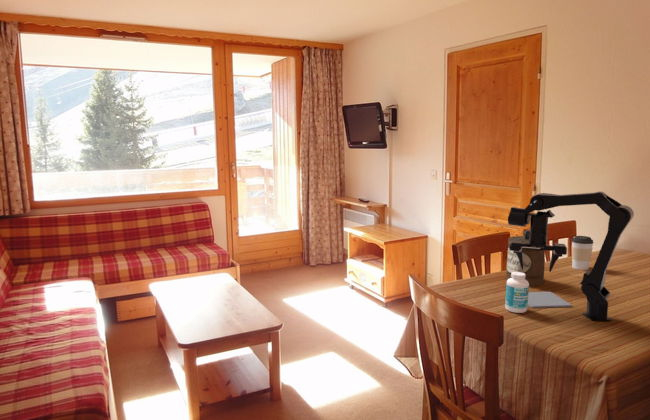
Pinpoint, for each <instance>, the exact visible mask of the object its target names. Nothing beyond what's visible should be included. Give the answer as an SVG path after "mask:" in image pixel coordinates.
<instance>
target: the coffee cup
mask: <svg viewBox="0 0 650 420" xmlns="http://www.w3.org/2000/svg"><path fill="white" fill-rule="evenodd" d="M593 244H594V240H593V239H592V237H590V236H585V235H575V236H574V237H573V238H571V259H572V260H571V261H572V262H571V264H572V265H571V268H572V269H576V270H582V271H583V270H585V271H587V270H590V269H589V268H590V262H591V258H592V253H593Z"/></svg>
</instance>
